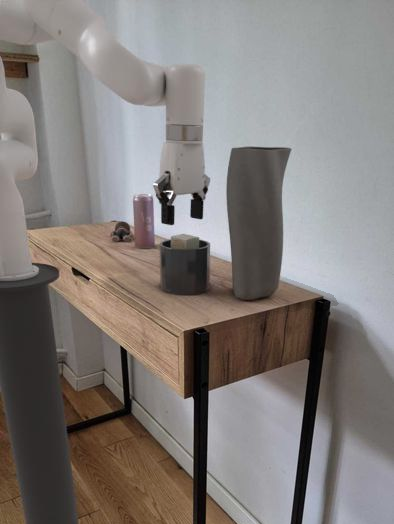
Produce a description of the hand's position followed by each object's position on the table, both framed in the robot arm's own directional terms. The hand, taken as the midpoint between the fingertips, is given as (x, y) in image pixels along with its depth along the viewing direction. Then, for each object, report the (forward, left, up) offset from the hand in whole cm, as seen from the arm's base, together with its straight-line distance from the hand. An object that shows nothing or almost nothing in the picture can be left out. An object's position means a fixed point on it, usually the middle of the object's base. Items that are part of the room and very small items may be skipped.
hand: (182, 221), depth 105 cm
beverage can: (+23, +34, -15) cm, 44 cm away
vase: (+5, -16, -15) cm, 22 cm away
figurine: (+26, +47, -15) cm, 56 cm away
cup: (0, -1, -15) cm, 15 cm away
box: (0, 0, -14) cm, 15 cm away
